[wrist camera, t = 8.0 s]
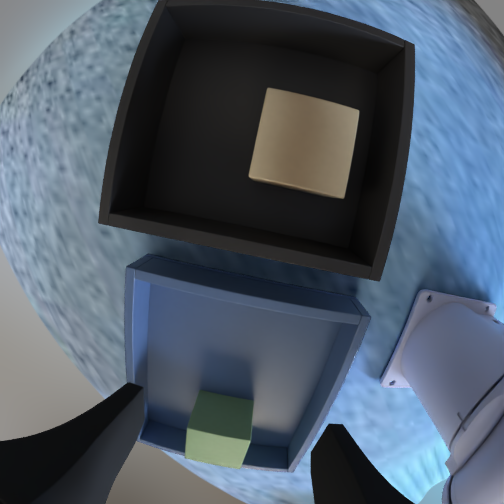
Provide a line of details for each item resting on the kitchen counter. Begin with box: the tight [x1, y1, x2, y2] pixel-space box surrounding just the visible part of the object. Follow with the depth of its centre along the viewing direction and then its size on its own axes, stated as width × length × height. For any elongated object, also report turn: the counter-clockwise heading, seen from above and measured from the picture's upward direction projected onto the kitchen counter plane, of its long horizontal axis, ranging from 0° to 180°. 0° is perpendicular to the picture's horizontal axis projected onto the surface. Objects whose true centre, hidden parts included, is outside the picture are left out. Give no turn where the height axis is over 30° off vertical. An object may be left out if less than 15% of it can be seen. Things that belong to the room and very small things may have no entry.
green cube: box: [185, 390, 254, 469], centre depth 16 cm, size 4×4×4 cm
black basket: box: [98, 0, 415, 281], centre depth 12 cm, size 13×12×4 cm
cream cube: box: [249, 88, 359, 199], centre depth 12 cm, size 4×4×4 cm
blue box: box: [124, 254, 371, 472], centre depth 16 cm, size 13×15×3 cm
